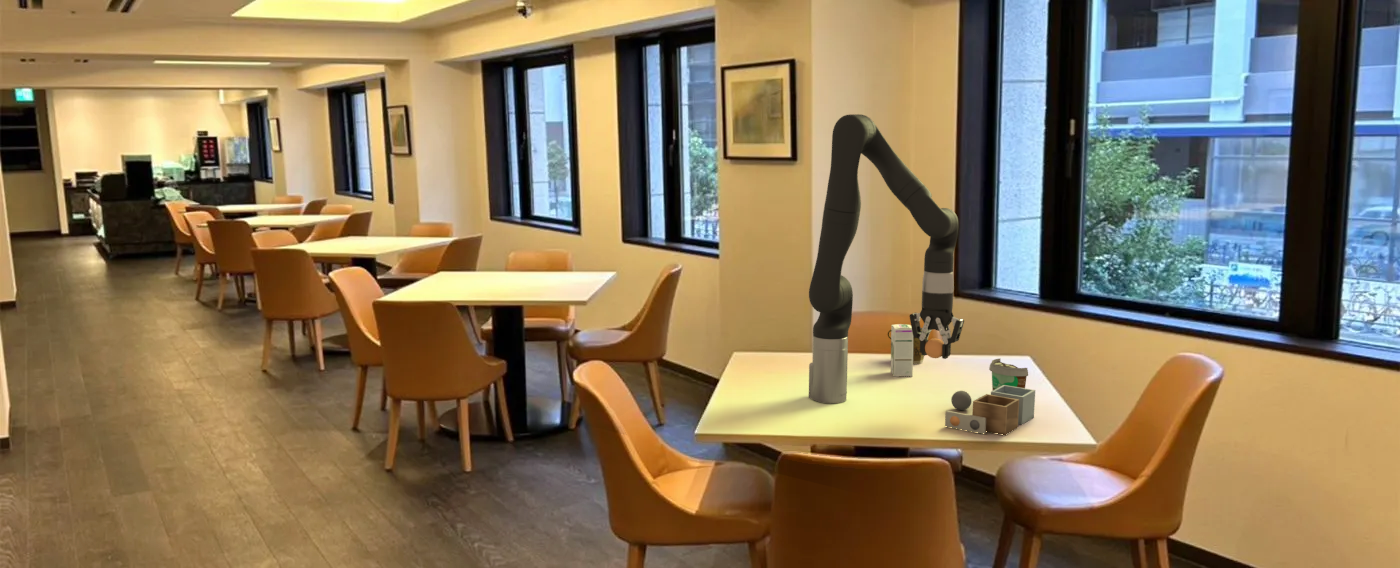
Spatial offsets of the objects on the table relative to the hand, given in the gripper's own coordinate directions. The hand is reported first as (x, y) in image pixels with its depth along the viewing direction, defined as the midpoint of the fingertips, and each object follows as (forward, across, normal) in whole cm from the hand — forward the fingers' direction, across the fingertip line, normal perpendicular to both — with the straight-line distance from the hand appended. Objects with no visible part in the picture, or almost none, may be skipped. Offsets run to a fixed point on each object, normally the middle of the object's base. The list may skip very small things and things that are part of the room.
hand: (934, 356), depth 253 cm
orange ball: (0, 0, 0) cm, 0 cm away
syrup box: (+16, -25, +33) cm, 44 cm away
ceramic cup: (+16, -31, +49) cm, 60 cm away
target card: (+15, +12, -7) cm, 20 cm away
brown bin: (+15, +17, -1) cm, 23 cm away
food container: (+15, +9, +24) cm, 30 cm away
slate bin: (+15, +17, +10) cm, 25 cm away
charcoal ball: (+15, +4, +9) cm, 18 cm away
